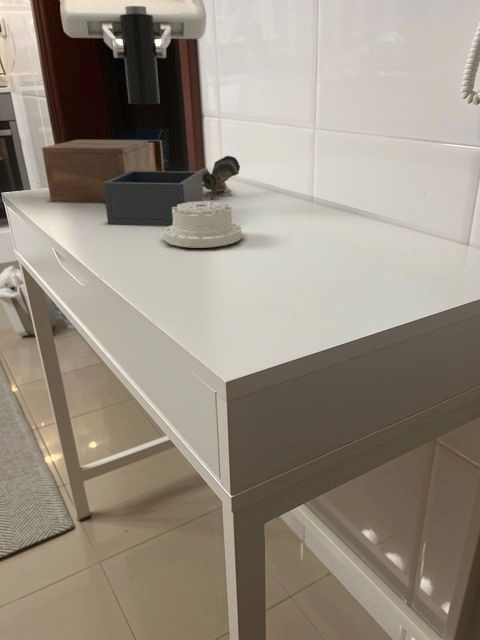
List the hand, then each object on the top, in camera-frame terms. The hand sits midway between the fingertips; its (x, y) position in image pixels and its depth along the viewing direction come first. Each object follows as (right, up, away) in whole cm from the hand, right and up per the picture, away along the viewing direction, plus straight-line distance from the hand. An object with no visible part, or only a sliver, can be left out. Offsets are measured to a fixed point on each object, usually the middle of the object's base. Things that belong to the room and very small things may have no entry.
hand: (140, 54), depth 78 cm
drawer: (-10, -7, +35) cm, 37 cm away
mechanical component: (+9, -27, -5) cm, 29 cm away
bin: (+1, -21, +7) cm, 22 cm away
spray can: (0, -5, +3) cm, 6 cm away
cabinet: (-12, -13, +24) cm, 29 cm away
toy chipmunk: (+9, -13, +23) cm, 28 cm away
